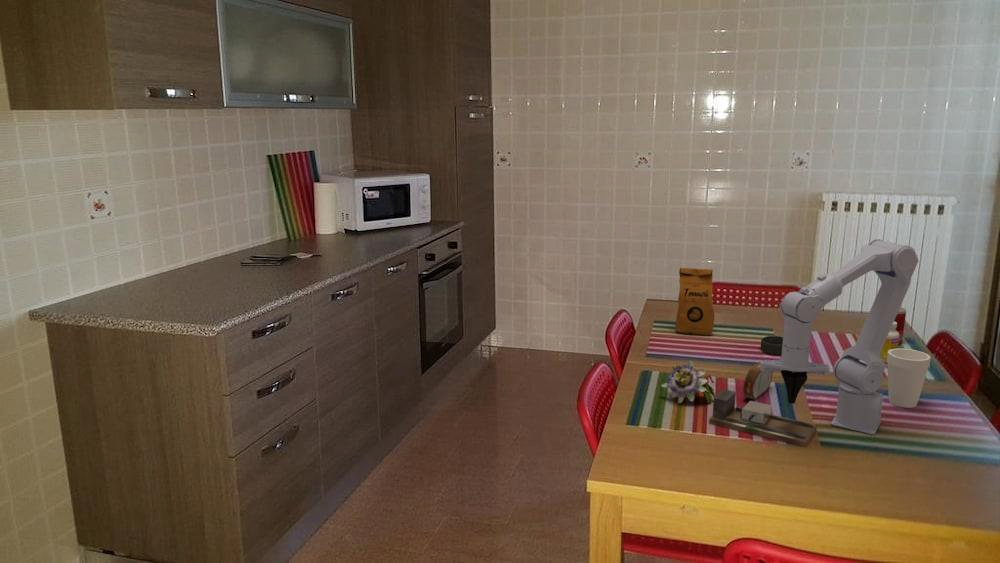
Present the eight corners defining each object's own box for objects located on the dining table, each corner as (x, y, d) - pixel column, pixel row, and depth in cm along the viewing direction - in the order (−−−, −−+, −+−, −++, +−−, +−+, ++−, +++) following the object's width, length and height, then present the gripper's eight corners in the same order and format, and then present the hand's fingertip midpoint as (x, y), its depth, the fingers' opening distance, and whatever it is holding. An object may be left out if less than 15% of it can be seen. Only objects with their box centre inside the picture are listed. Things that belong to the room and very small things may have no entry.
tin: (762, 384, 200) (764, 355, 198) (773, 387, 198) (776, 357, 196) (740, 401, 189) (743, 370, 187) (752, 404, 187) (755, 373, 185)
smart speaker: (795, 356, 223) (796, 344, 222) (765, 356, 223) (766, 344, 222) (784, 347, 231) (785, 335, 230) (756, 347, 232) (757, 335, 231)
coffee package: (712, 338, 240) (716, 272, 235) (673, 334, 244) (676, 270, 239) (714, 329, 249) (718, 266, 244) (677, 326, 253) (680, 264, 248)
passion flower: (679, 422, 190) (653, 385, 189) (690, 400, 198) (665, 365, 198) (717, 407, 183) (689, 369, 182) (726, 385, 192) (700, 348, 191)
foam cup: (889, 393, 194) (895, 346, 191) (928, 402, 187) (935, 354, 184) (876, 403, 187) (882, 354, 184) (916, 413, 181) (923, 363, 178)
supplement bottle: (889, 369, 211) (895, 326, 208) (866, 363, 216) (871, 321, 213) (899, 364, 215) (904, 322, 212) (875, 358, 220) (880, 317, 217)
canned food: (903, 340, 237) (907, 307, 234) (900, 347, 230) (905, 313, 228) (876, 336, 241) (880, 304, 238) (873, 343, 234) (877, 309, 232)
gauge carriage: (770, 417, 175) (771, 405, 175) (759, 429, 169) (760, 417, 168) (746, 412, 178) (747, 400, 178) (735, 424, 172) (736, 411, 171)
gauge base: (816, 431, 172) (818, 407, 170) (805, 447, 164) (807, 422, 162) (723, 409, 184) (724, 387, 183) (709, 423, 176) (710, 400, 175)
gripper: (827, 341, 168) (822, 397, 171) (760, 338, 171) (756, 392, 174) (833, 351, 161) (827, 409, 164) (763, 347, 164) (759, 404, 167)
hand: (791, 401), depth 169 cm, fingers closed
